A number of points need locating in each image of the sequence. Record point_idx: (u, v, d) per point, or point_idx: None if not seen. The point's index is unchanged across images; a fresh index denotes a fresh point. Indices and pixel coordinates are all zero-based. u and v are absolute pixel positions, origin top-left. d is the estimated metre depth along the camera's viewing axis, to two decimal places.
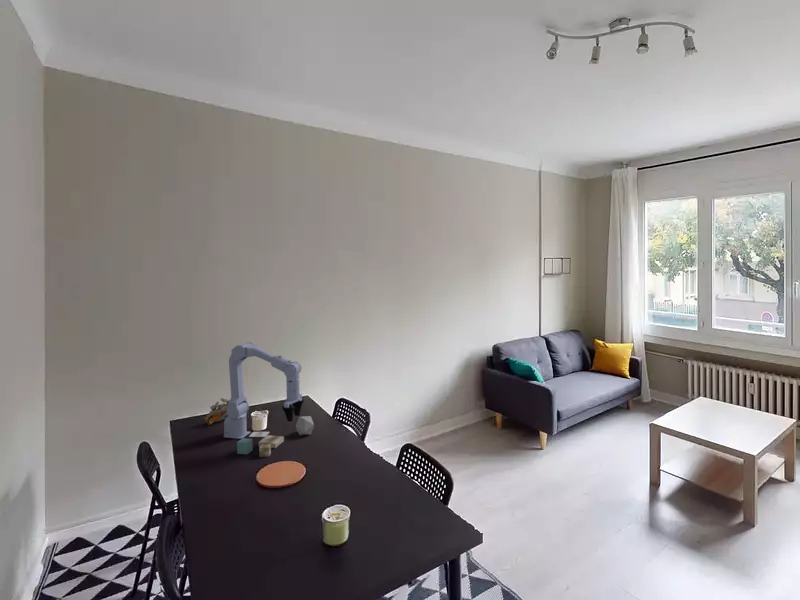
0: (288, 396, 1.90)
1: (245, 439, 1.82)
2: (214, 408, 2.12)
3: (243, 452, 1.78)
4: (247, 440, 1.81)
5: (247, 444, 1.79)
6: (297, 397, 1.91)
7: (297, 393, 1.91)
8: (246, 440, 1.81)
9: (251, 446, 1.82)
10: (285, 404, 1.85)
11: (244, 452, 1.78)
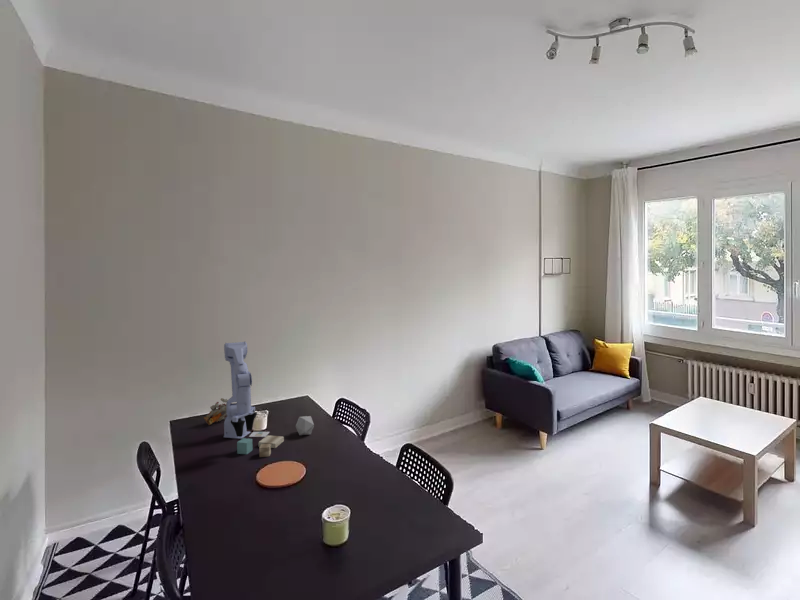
0: (238, 409, 1.77)
1: (245, 439, 1.82)
2: (214, 408, 2.12)
3: (243, 452, 1.78)
4: (247, 440, 1.81)
5: (247, 444, 1.79)
6: (248, 410, 1.78)
7: (248, 406, 1.78)
8: (246, 440, 1.81)
9: (251, 446, 1.82)
10: (233, 418, 1.73)
11: (244, 452, 1.78)
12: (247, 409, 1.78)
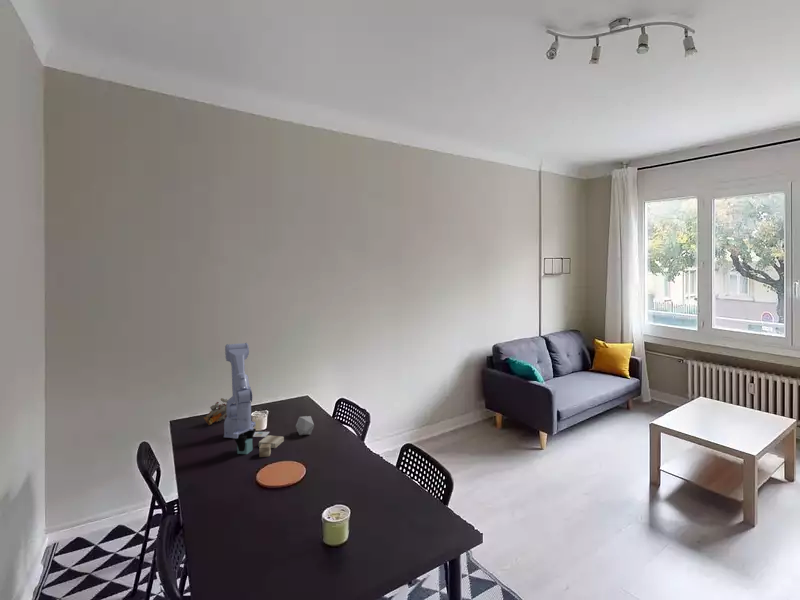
0: (238, 425, 1.78)
1: None
2: (214, 408, 2.12)
3: (243, 452, 1.78)
4: (247, 440, 1.81)
5: (247, 444, 1.79)
6: (248, 426, 1.78)
7: (248, 422, 1.78)
8: (246, 440, 1.81)
9: (251, 446, 1.82)
10: (234, 434, 1.73)
11: (244, 452, 1.78)
12: (247, 425, 1.78)
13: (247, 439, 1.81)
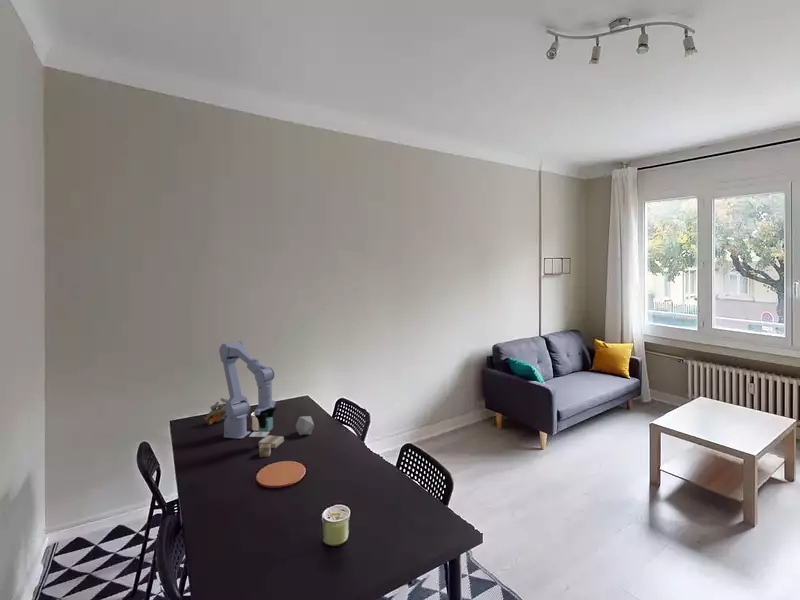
0: (259, 403, 1.84)
1: None
2: (214, 408, 2.12)
3: (264, 429, 1.85)
4: (268, 418, 1.87)
5: (268, 422, 1.85)
6: (269, 404, 1.85)
7: (269, 400, 1.85)
8: (267, 418, 1.87)
9: (272, 424, 1.88)
10: (256, 411, 1.79)
11: (265, 429, 1.84)
12: (268, 403, 1.84)
13: (268, 417, 1.88)
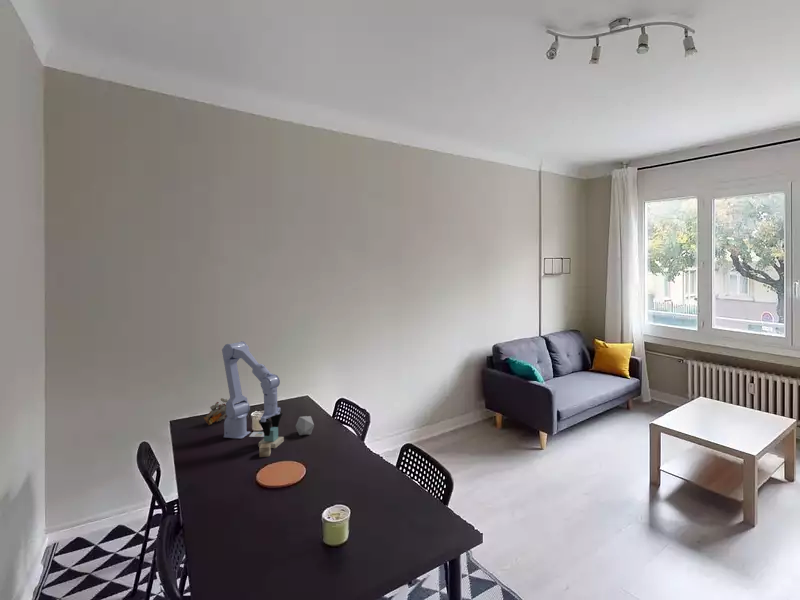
0: (265, 410, 1.86)
1: (271, 427, 1.90)
2: (214, 408, 2.12)
3: (270, 439, 1.87)
4: (273, 428, 1.89)
5: (274, 432, 1.87)
6: (275, 411, 1.87)
7: (275, 407, 1.87)
8: (272, 428, 1.89)
9: (277, 434, 1.90)
10: (262, 418, 1.81)
11: (271, 439, 1.87)
12: (274, 410, 1.86)
13: (273, 427, 1.90)
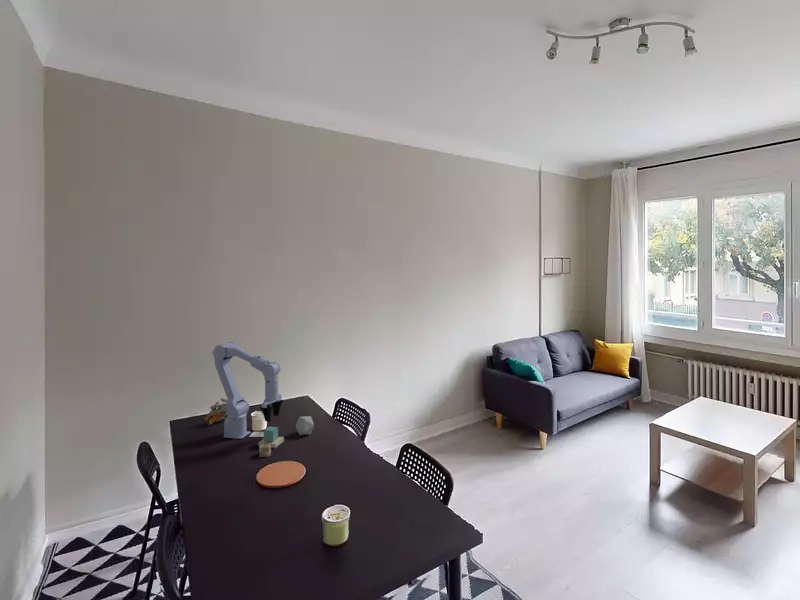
0: (266, 396, 1.91)
1: (271, 427, 1.90)
2: (214, 408, 2.12)
3: (269, 439, 1.87)
4: (273, 428, 1.89)
5: (273, 432, 1.87)
6: (275, 397, 1.91)
7: (275, 393, 1.91)
8: (272, 428, 1.89)
9: (277, 434, 1.90)
10: (263, 404, 1.86)
11: (270, 439, 1.87)
12: (275, 396, 1.91)
13: (273, 427, 1.90)
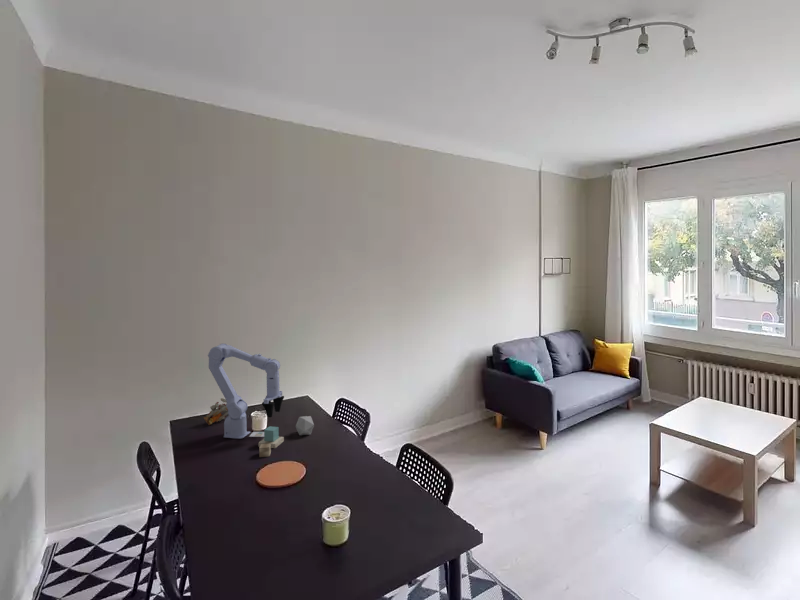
0: (268, 392, 1.96)
1: (272, 427, 1.90)
2: (214, 408, 2.12)
3: (270, 439, 1.87)
4: (274, 428, 1.89)
5: (274, 432, 1.87)
6: (277, 393, 1.97)
7: (277, 390, 1.97)
8: (273, 428, 1.89)
9: (277, 434, 1.90)
10: (265, 400, 1.92)
11: (271, 439, 1.87)
12: (276, 392, 1.97)
13: (274, 427, 1.90)
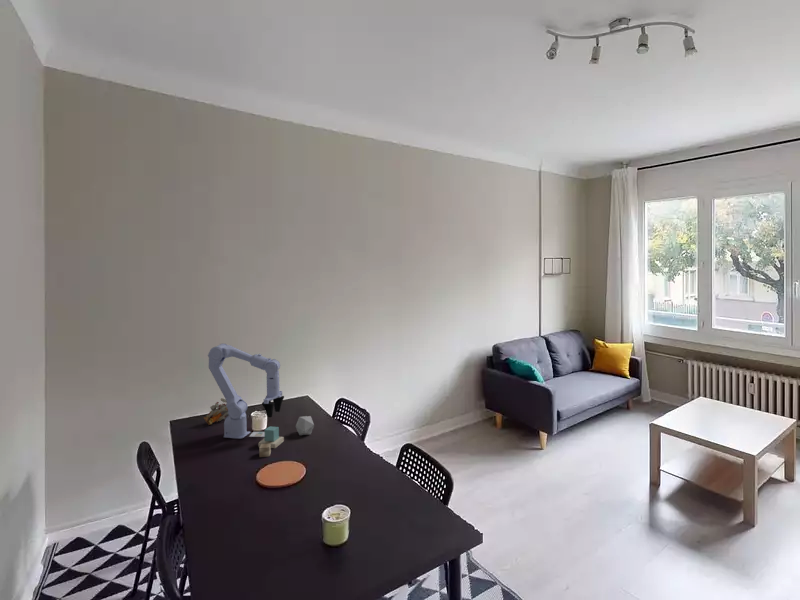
0: (268, 392, 1.96)
1: (272, 427, 1.90)
2: (214, 408, 2.12)
3: (270, 439, 1.87)
4: (274, 428, 1.89)
5: (274, 432, 1.87)
6: (277, 393, 1.97)
7: (277, 390, 1.97)
8: (273, 428, 1.89)
9: (278, 434, 1.90)
10: (265, 400, 1.92)
11: (271, 439, 1.87)
12: (276, 392, 1.97)
13: (274, 427, 1.90)
